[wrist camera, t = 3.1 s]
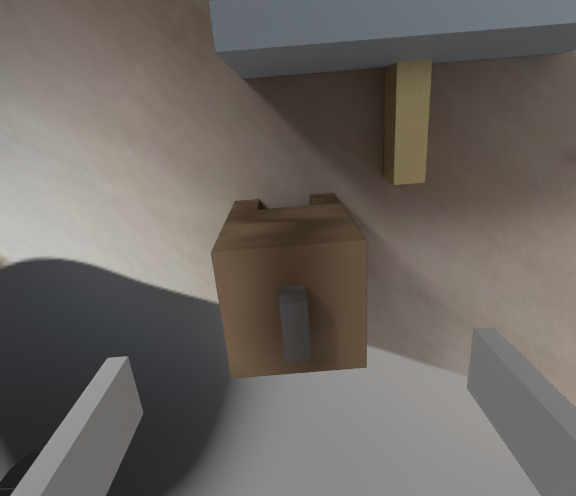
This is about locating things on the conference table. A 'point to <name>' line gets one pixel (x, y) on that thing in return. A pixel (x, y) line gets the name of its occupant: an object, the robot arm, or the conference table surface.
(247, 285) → the cabinet block
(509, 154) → the conference table surface
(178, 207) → the conference table surface
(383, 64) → the wall board
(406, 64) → the rail
